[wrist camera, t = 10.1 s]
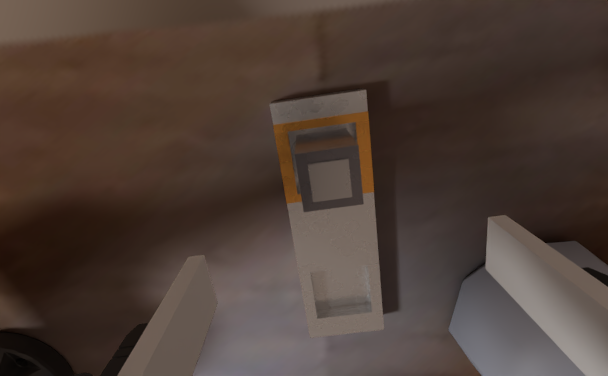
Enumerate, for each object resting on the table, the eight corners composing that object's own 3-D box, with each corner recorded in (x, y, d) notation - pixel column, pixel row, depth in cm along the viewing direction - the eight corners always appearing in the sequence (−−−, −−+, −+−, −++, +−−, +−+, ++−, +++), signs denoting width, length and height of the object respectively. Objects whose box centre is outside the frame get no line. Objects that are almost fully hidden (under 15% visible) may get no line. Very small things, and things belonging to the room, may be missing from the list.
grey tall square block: (303, 181, 35) (303, 213, 27) (296, 134, 33) (294, 155, 25) (350, 175, 35) (364, 205, 27) (345, 127, 33) (359, 146, 25)
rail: (309, 323, 42) (310, 339, 40) (271, 101, 33) (269, 104, 30) (379, 315, 42) (384, 330, 39) (361, 88, 32) (366, 89, 30)
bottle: (573, 368, 45) (749, 562, 27) (432, 359, 45) (518, 551, 27) (635, 239, 38) (921, 386, 21) (470, 227, 38) (619, 367, 20)
